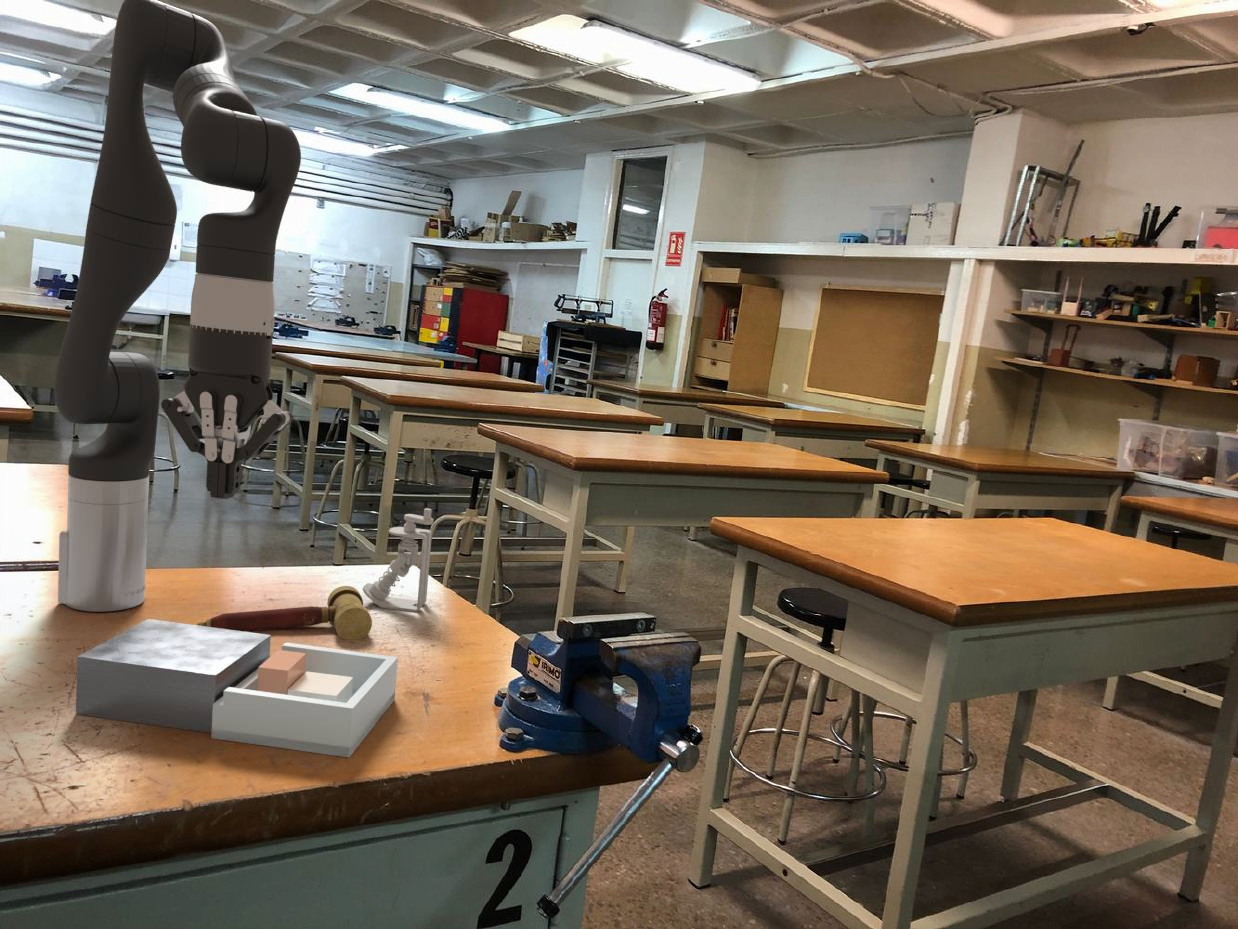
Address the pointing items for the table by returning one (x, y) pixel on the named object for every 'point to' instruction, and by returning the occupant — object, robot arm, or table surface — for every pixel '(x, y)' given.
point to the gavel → (305, 616)
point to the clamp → (405, 565)
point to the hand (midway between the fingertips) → (222, 497)
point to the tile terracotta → (281, 671)
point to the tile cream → (323, 687)
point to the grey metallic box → (166, 673)
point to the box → (310, 705)
